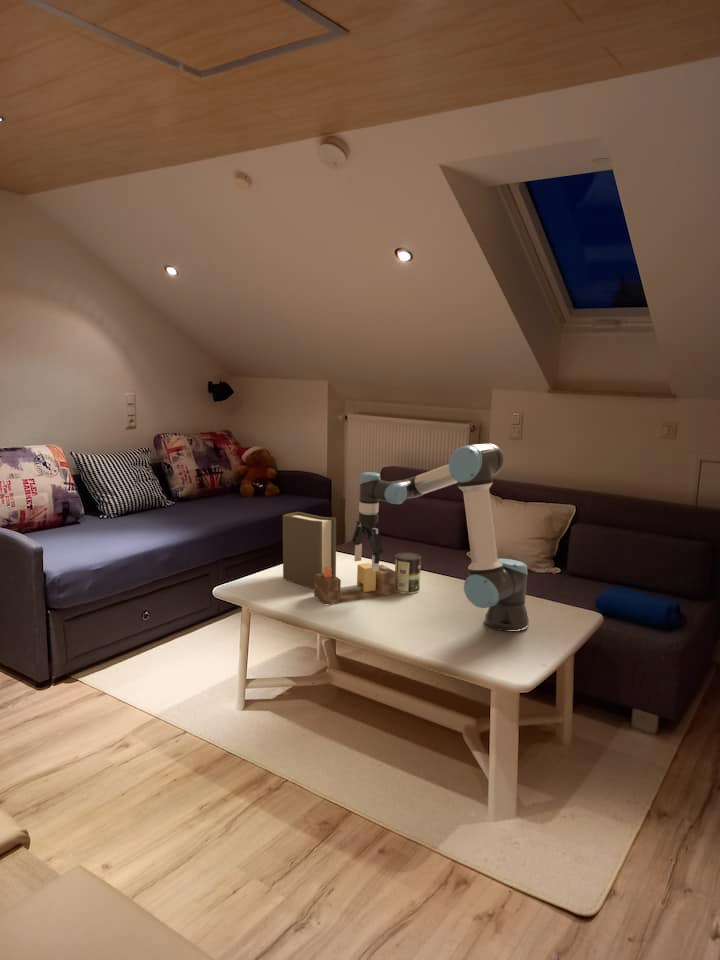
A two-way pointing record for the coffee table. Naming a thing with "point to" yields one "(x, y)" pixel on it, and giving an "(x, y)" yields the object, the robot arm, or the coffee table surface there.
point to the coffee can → (407, 573)
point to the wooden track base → (331, 592)
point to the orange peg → (327, 572)
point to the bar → (351, 589)
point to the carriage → (366, 577)
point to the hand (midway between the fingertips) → (366, 565)
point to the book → (308, 547)
